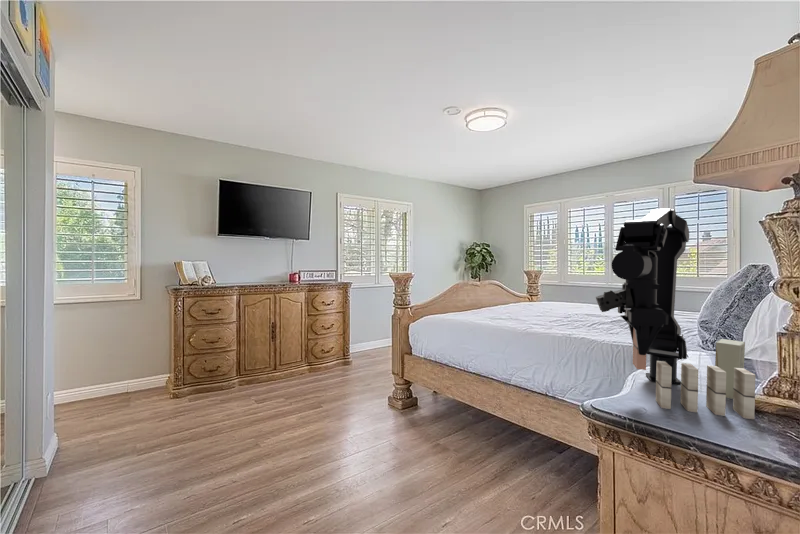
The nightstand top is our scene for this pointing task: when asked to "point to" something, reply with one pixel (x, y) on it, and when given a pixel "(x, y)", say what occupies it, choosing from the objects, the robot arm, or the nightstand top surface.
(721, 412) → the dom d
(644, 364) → the domino
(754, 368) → the nightstand top surface
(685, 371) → the domino
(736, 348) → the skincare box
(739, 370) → the domino
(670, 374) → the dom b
